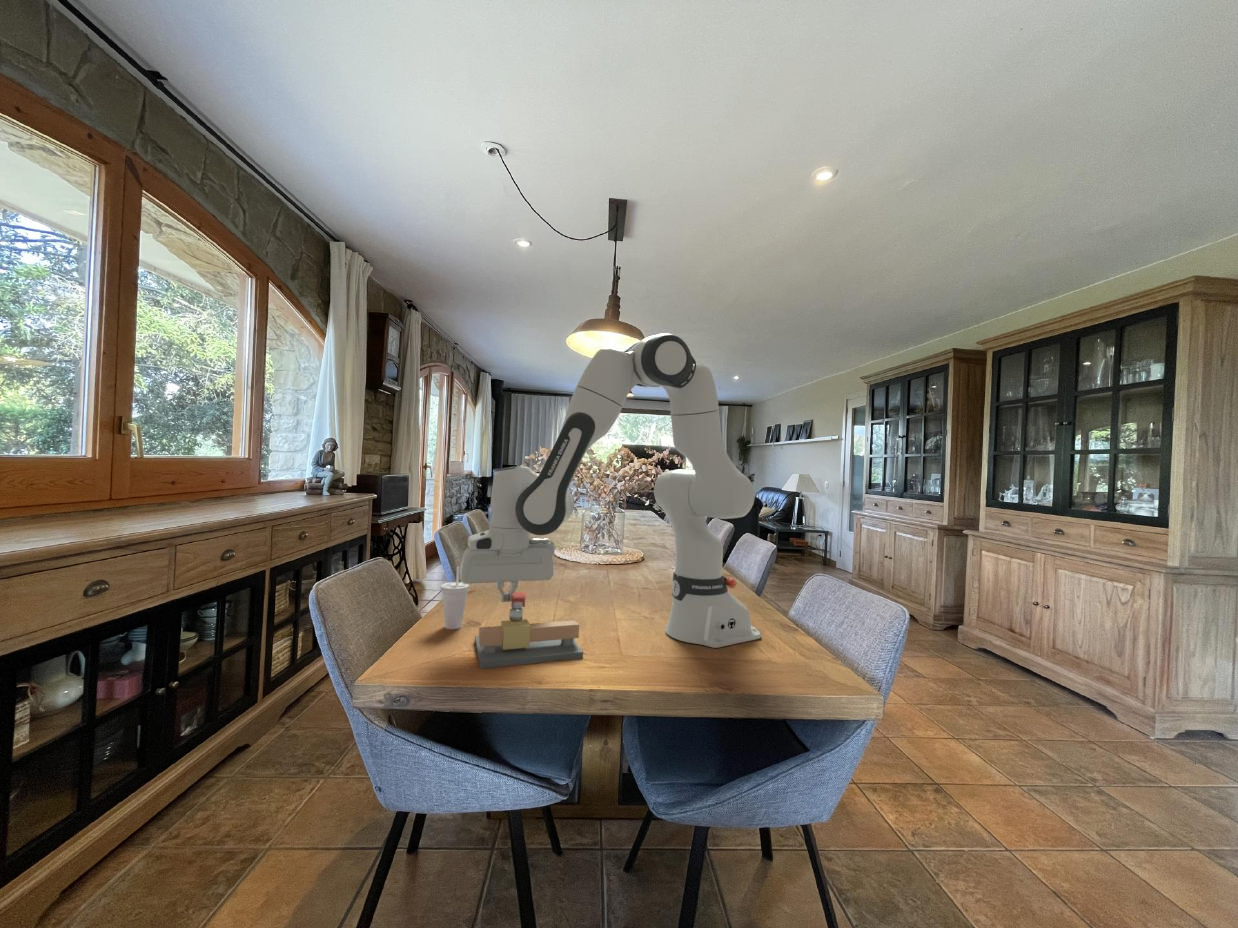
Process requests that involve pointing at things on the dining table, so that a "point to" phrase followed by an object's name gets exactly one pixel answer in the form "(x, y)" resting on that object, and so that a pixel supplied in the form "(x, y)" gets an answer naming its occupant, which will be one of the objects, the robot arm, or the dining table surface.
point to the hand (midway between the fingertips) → (506, 601)
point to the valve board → (528, 653)
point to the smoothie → (454, 602)
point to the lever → (517, 606)
